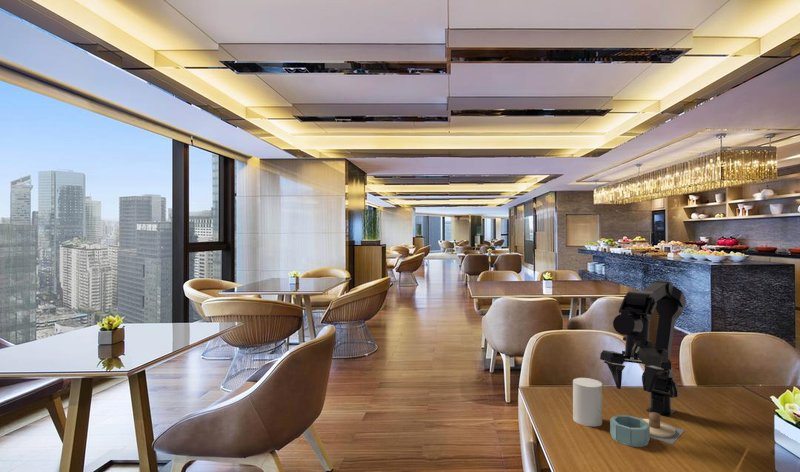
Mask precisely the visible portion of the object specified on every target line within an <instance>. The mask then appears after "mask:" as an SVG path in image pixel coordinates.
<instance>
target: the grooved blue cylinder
mask: <svg viewBox="0 0 800 472" xmlns="http://www.w3.org/2000/svg"><path fill="white" fill-rule="evenodd" d="M609 423H610V424H609V434H610V435H611V438H612V439H613V440H614V441H616V442H617V443H619V444H621V445H625V446H628V447H634V448H642V447H646V446H648V445H649V441H651V440H650V439H651V438H650V425H649V424H648V423H647V422H645V421H644V420H643V419H640V418H639V417H635V416H634V415H633V416H632V415H628V414H615V415H613V416H612V417H611V418H610V419H609Z"/></svg>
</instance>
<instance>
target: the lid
mask: <svg viewBox="0 0 800 472" xmlns="http://www.w3.org/2000/svg"><path fill="white" fill-rule="evenodd" d="M643 420H644V421H645V422H647V423H648V424H649V425H650V436H654V437H660V438H670V437H673V436H675V429H674V427H675V426H672V425H671V424H669V423H666V422H664V421H661V415H660V414H658V413H655V412H648V418H644V419H643Z"/></svg>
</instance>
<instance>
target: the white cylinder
mask: <svg viewBox="0 0 800 472" xmlns="http://www.w3.org/2000/svg"><path fill="white" fill-rule="evenodd" d="M572 419H573V421H574V422H575V423H577V424H579V425H581V426H586V427H600V426H602V424H603V383H602V382H601V381H600V380H596V379H593V378H588V377H577V378H574V379H572Z"/></svg>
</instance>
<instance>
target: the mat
mask: <svg viewBox="0 0 800 472" xmlns="http://www.w3.org/2000/svg"><path fill="white" fill-rule="evenodd" d="M638 418H640V419H645V418H643V417H638ZM673 427H674V429H675V436H673V437H670V438H660V437H654V436H650V439H653V440H656V441H657V440H658V441H661V442H664V443H666V444H670V445H673V444H674V443H675V442H676V441H677V440H678V438H679V437H680V436H681V435H682V434H683V433H684V432H685V431H686V430H685V429H683V428H679V427H675V426H673Z"/></svg>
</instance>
